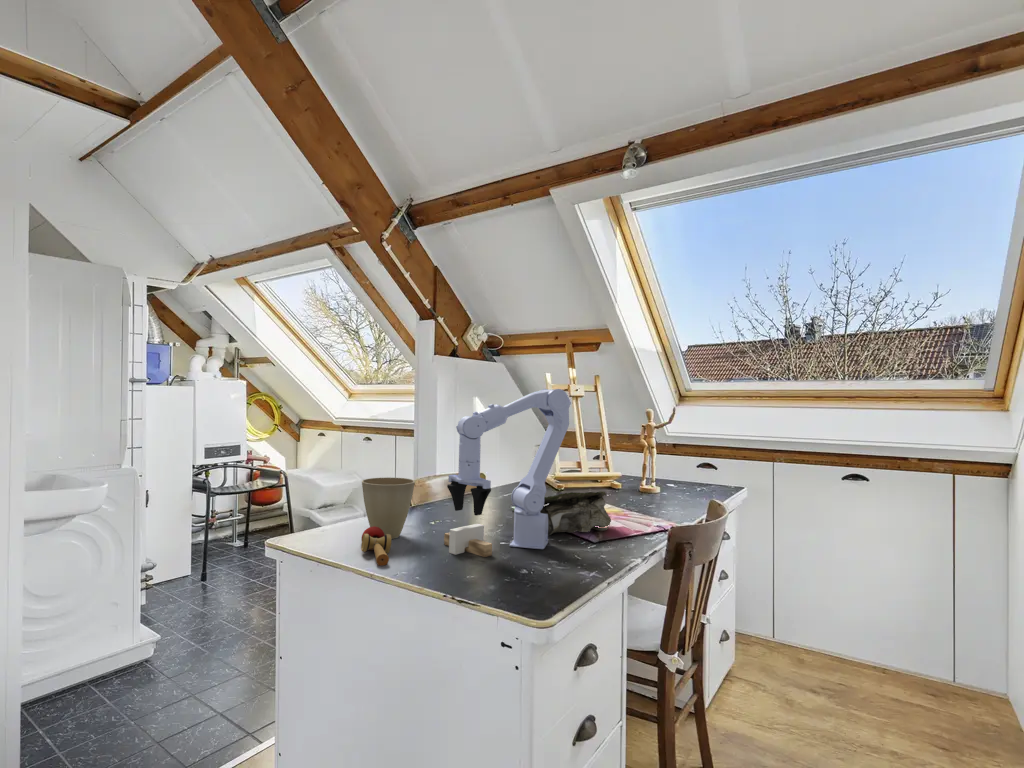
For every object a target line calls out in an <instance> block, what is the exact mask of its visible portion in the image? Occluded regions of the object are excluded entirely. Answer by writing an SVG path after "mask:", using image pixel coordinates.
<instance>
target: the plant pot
mask: <svg viewBox="0 0 1024 768" xmlns="http://www.w3.org/2000/svg"><path fill="white" fill-rule="evenodd" d="M415 482H416V481H415V480H414V479H412V478H407V477H406V478H405V477H391V476H390V477H388V476H387V477H371V478H366V479H362V480H361V485H362V486H361V487H362V488H361V489H362V497H363V503H364V509H365V513H366V517H367V521H368V525H369V527H373V526H375V527H379V528H380V529H382V530H383V532H384V534H385V535H386V534H390V535H391V540H393V539H397V538H399V537H400V535H401V534H402V530H403V528H404V526H405V523H406V521H407V517H408V514H409V511H410V508H411V504H412V499H413V494H414V489H415Z"/></svg>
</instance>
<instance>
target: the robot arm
mask: <svg viewBox="0 0 1024 768" xmlns="http://www.w3.org/2000/svg"><path fill="white" fill-rule="evenodd" d="M571 405H572V402H571V399H570V398H569V396H568V393H567V392H566V391H565V390H563V389H561V388H556V389H548V388H543V389H540V390H539V391H538V390H537V391H533V392H530V393H528V394H526V395H523V396H522V397H520V398H518V399H516V400H514V401H512V402H510V403H507V404H505V405H503V406H502V405H500V404H496V403H495V404H494V403H490V404H488V405H487V408H485V409H482V410H480V411H477V410H476V411H473V412H472V416H471V415H465V416H463V417H461V418H460V420H458V422H457V425H456V427H455V428H456V432H457V433H458V435H459V444H458V470H457V471H458V474H448V483H450V484H447V485H446V488H447V489H448V491H449V493H450V496H451V498H452V501H453V507H454V511H455V512H457V511H463V508H464V501H465V499H464V498H465V493H466V488H467V486H471V488H470V493H471V497H472V500H473V513H474V514H473V515H474V516H482V514H483V511H484V507H485V504H486V501H487V499H488V497H489V494H490V493H491V491H492V488H491V487H492V484H491V483H492V481H491V480H489V479H485V478H484V477H483V478H482V477H481V446H482V445H481V438H482V436H483V435H484V433H488V432H489V431H491V430H493V429H495V428H497V427H498V428H499V427H500V426H503V425H505V424H506V422H507V420H508V418H510V417H512V416H515V415H517V414H519V413H523V412H525V411H527V410H530V409H532V408H535V409H537V408H538V410H539V411H540V412H541V413H542V414H543V415H544V417H545V420H546V421H547V423H548V424H547V428H546V430H545V432H544V435H543V437H542V440H541V442H540V444H539V446H538V449H537V451H536V454H535V456H534V458H533V460H532V462H531V465H530V467H529V469H528V472H527V474H526V475H525V476H524V477H522V479H520V481H519V484H518V485H517V486H516V487H514V489H513V490H512V492H511V496H510V499H511V503H512V505H514V511H513V512H514V513H513V516H514V517H513V540H512V541H511V542H510V543H509V547H511V548H525V549H535V550H544V549H545V548H546V546H547V545H548V543H549V535H548V515H547V514H543V513H540V511H541V510H542V508H543V506H545V505H544V497H545V496H546V493H547V488H546V487H547V486H546V480H547V478H548V475H549V474H550V471H551V469H552V467H553V464H554V461H555V459H556V457H557V454H558V453H559V450H560V448H561V445H562V442H563V441H564V439H565V436H566V433H567V431H568V428H569V427H570V426H569V425H570V407H571ZM472 487H473V488H472Z"/></svg>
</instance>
